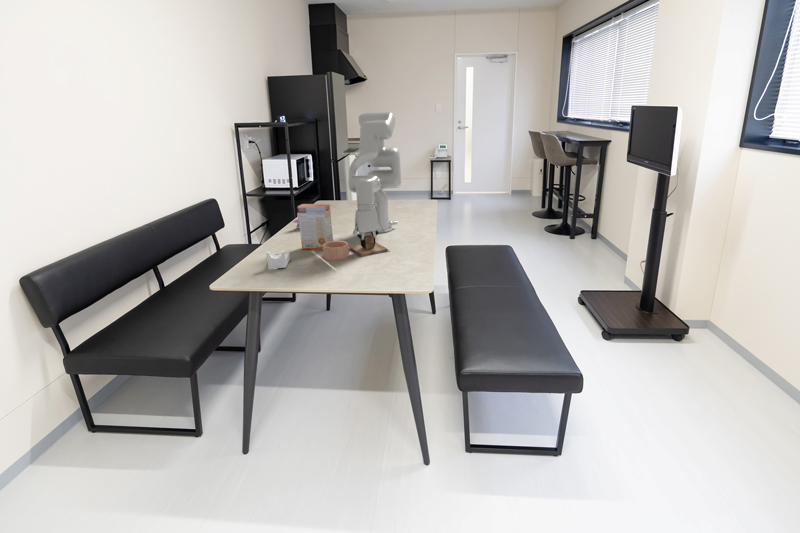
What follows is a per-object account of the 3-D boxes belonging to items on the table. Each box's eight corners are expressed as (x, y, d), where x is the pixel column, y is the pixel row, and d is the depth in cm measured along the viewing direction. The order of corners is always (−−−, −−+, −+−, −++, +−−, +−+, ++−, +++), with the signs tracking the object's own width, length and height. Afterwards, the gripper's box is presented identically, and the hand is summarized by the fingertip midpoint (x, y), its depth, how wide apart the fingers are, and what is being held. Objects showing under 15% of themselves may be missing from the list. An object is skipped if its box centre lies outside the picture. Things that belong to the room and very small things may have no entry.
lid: (375, 244, 221) (374, 230, 219) (387, 251, 210) (387, 237, 208) (349, 248, 216) (348, 235, 213) (361, 256, 205) (360, 241, 203)
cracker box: (334, 247, 221) (330, 204, 214) (328, 251, 215) (324, 206, 209) (308, 245, 225) (303, 203, 218) (301, 249, 220) (296, 205, 213)
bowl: (343, 252, 213) (342, 239, 211) (352, 258, 204) (352, 245, 202) (320, 256, 209) (319, 243, 207) (329, 263, 199) (327, 249, 197)
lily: (320, 228, 260) (315, 212, 261) (313, 225, 249) (308, 208, 250) (300, 235, 262) (295, 219, 263) (293, 233, 250) (287, 216, 251)
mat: (376, 244, 223) (376, 243, 222) (390, 252, 210) (390, 251, 210) (347, 250, 216) (347, 248, 216) (360, 258, 204) (359, 257, 203)
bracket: (286, 269, 194) (283, 252, 192) (268, 270, 194) (266, 253, 191) (290, 259, 207) (288, 243, 204) (274, 260, 206) (272, 244, 204)
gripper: (379, 203, 213) (381, 241, 219) (345, 208, 206) (348, 247, 212) (386, 205, 207) (388, 245, 213) (351, 211, 200) (354, 251, 206)
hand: (368, 246), depth 212 cm, fingers closed on lid, 4 cm apart
